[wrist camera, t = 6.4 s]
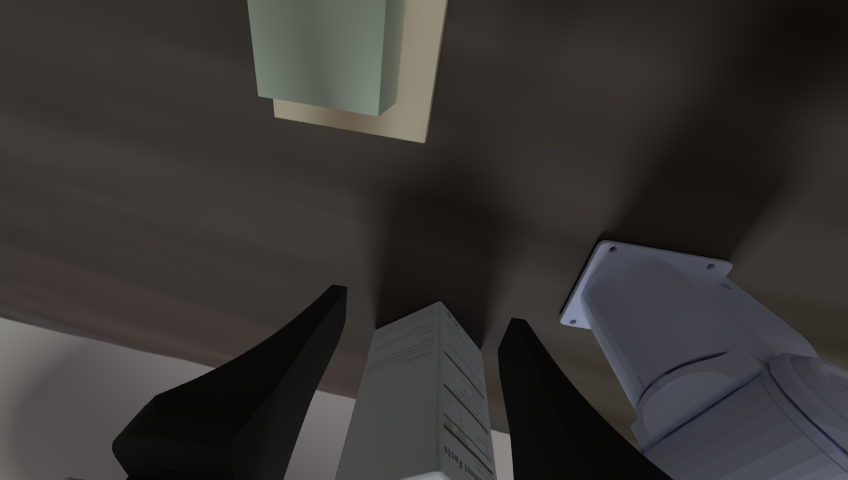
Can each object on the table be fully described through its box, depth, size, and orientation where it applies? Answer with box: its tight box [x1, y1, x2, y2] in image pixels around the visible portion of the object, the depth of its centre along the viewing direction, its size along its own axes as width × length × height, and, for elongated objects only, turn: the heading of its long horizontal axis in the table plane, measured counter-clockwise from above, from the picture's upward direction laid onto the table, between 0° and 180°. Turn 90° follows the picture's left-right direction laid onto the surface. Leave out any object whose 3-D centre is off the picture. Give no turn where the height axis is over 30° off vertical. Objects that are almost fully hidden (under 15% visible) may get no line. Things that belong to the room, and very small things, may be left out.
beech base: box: [273, 0, 449, 143], centre depth 15 cm, size 8×8×3 cm
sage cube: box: [247, 0, 406, 116], centre depth 12 cm, size 4×4×4 cm
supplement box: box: [335, 301, 497, 480], centre depth 22 cm, size 7×7×13 cm
